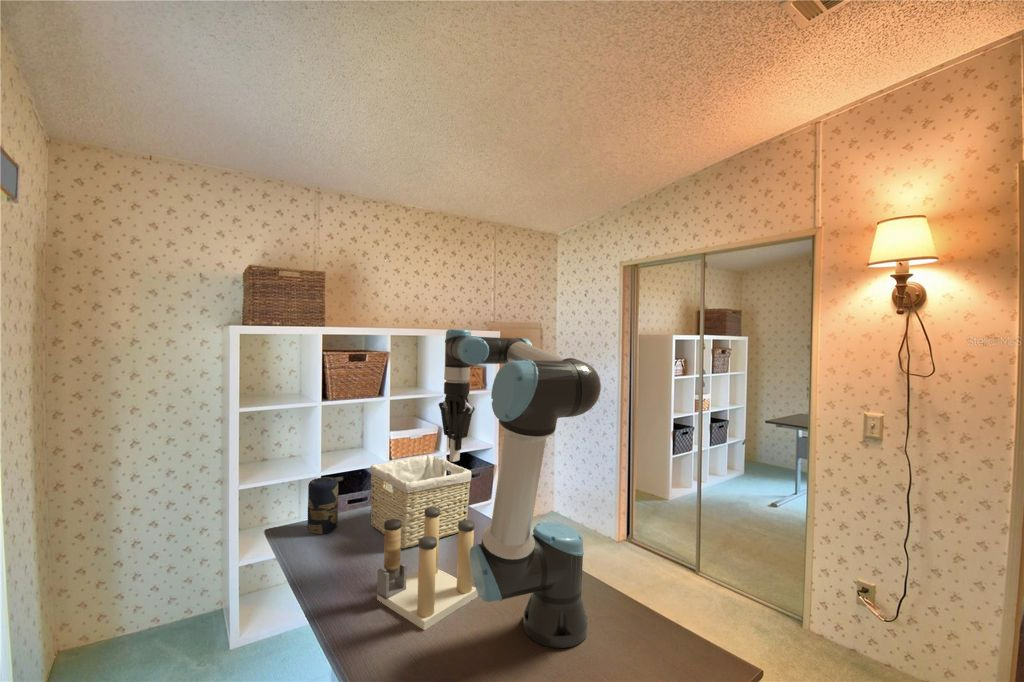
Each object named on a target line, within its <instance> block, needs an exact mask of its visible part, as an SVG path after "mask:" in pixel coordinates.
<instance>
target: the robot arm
mask: <svg viewBox="0 0 1024 682" xmlns="http://www.w3.org/2000/svg"><path fill="white" fill-rule="evenodd" d="M444 343H445V345H444V349H445V350H444V351H445V352H444V376H443V377H444V378H443V379H444V380H445V382H444V383H443V393H444V395H445V397H444V400H443V401H442V402H439V403H438V407H439V409H440V413H441V415H440V416H441V423H442V427H443V428H442V429H443V435H444V436H447V438H448V448H449V449H448V450H449V462H451V463H454V462H458V461H460V458H461V457H460V456H461V450H462V440H463V439H465V438H467V437H468V434H469V430H470V425H471V420H472V415H473V414H474V411H476V410H475V406H471V404H469V398H468V396H469V395H470V387H471V385H470V382H469V381H470V379H471V378H470V375H471V366H473V365H474V366H477V365H488V364H491V365H497V364H499V365H500V364H501V365H503V366H501V367H500V368H499V369H498V371H497V373H496V375H495V377H494V380H493V383H492V387H491V395H490V396H491V399H492V400H491V401H492V402H491V409H492V412H493V414H494V416H495V417H496V418H497V420H498V424H499V426H500V427H501V428H502V429H503V430H504V435H503V443H502V449H501V455H500V463H499V469H498V475H497V476H498V477H497V482H496V487H495V488H496V489H495V495H494V503H493V509H492V516H491V522H490V523H491V524H490V525H489V526H487V527H486V528H485V529H484V530H483V533H482V537H481V543H476V544H473V546H472V547H471V549H470V567H471V573H472V582H473V584H474V587H475V588H476V590H477V592H478V596H479V597H480V599H481V600H483V602H485V603H493V602H498V601H499V602H502V601H503V600H508V599H513V598H516V597H520V596H523V595H528V594H530V595H529V598H528V601H527V604H526V606H525V609H524V613H523V621H522V622H523V625H522V626H523V630H524V632H525V634H526V635H527V637H529V638H530V639H531V640H532V641H534V642H535V643H537V644H539V645H541V646H544V647H549V648H554V649H555V648H556V649H565V648H571V647H574V646H578V645H579V644H580V643H582V642H584V640H585V639H586V638H587V636H588V633H589V619H588V615H587V612H586V609H585V605H584V601H583V598H582V594H583V593H582V588H583V561H584V560H583V559H584V558H583V557H584V555H585V553H584V541H583V537H582V535H581V534H580V532H579V531H578V530H576V529H574V528H573V527H570V526H568V525H566V524H562V523H558V522H552V521H551V522H548V521H546V522H543V521H542V522H539V523H537V524H536V525H534V527H533V530H532V533H533V534H532V533H531V528H532V523H533V517H534V511H535V505H536V500H537V493H538V488H539V483H540V476H541V472H542V471H541V469H542V466H543V465H542V464H543V458H544V454H545V453H544V452H545V447H546V442H547V438H549V437H550V436H552V435H554V434H555V431H556V429H557V428H556V427H557V423H558V419H560V418H571V417H578V416H580V415H583V414H585V413H587V412H589V411H590V410H591V409H592V408H594V406H595V405H596V403H597V402H598V400H599V398H600V395H601V389H602V387H601V380H600V376H599V374H598V372H597V370H596V369H595V368H594V367H593V366H591V364H589V363H587V362H584V361H582V360H580V359H577V358H574V357H567V358H563V357H560V356H558V355H556V354H553V353H551V352H548V351H545V350H543V349H541V348H539V347H537V346H533V343H532V342H531V340H530V339H528V338H526V337H525V338H523V337H517V336H516V337H498V336H497V337H495V336H491V337H490V336H488V337H487V336H472V331H471V330H469V329H456V328H453V329H452V328H450V329H447V330H446V331H445V340H444Z"/></svg>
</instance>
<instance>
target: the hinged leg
mask: <svg viewBox="0 0 1024 682" xmlns="http://www.w3.org/2000/svg"><path fill="white" fill-rule="evenodd" d="M384 529H385V534H384V536H383V537H384V538H383V539H384V540H383V542H384V543H383V544H384V545H383V547H384V548H383V549H384V551H383V555H384V556H383V557H384V559H383V568H384V570H385V571H386V572H387V573H389V582H391V581H395V579H396V578H398V577H400V576H401V575H402V570H401V568H400V562H401V552H402V551H401V550H402V548H401V520H399V519H390V520H387V521H385V522H384Z"/></svg>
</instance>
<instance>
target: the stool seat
mask: <svg viewBox="0 0 1024 682" xmlns="http://www.w3.org/2000/svg"><path fill="white" fill-rule="evenodd" d="M439 518H440V509H439V508H436V507H430V508H426V509H425V529H424V537H422V538H420V539H419V544H418V566H417V567H418V569H417V572H416V573H414V574H411V575H409V576H407V567H408V566H407V564H404V563H403V562H401V561H400V568H401V570H402V575H401V576H400V577H398V578H396V579H394V583H391V584H390V581H389V573H387V572H386V571H387V570H385V569H382V568H379V569H377V581H376V582H377V583H376V585H377V586H376V589H377V590H376V600H377V601H378V600H379V601H380V602H379V601H378V602H379V603H381V602H382V603H381V604H383V606H386V607H388V609H390V610H392V611H393V612H395V613H396V614H398V615H400V616H401V617H403V618H404V619H406V620H408V621H409V622H411V623H412V624H414V625H415V626H417V627H419V628H420V629H421V630H423V631H426V630H428V629H429V628H431V627H432V626H434V625H436V624H437V623H439V622H440V621H442V620H443V619H444V618H446V617H448V616H449V615H451V614H452V613H454V612H456V611H458V610H459V609H461V608H462V607H464V606H465V605H467V604H468V603H470V602H472V601H473V600H474V599H477V598H478V596H479V594H478V592H477V590H476V587H475V586H473V577H472V573H471V567H470V549H471V547H472V546H474V540H475V537H474V536H475V535H474V534H475V522H474V521H473V520H468V519H467V520H463V521H460V522H459V523H458V533H457V559H456V560H457V561H456V562H457V565H456V567H457V569H456V577H455V576H453V575H451V574H449V573H447V572H445V571H443V570H441V569H439V551H440V550H439V547H440V544H439V542H440V538H439ZM471 600H472V601H471Z"/></svg>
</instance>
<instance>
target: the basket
mask: <svg viewBox="0 0 1024 682" xmlns="http://www.w3.org/2000/svg"><path fill="white" fill-rule="evenodd" d="M446 471H448V472H450V474H449V475H446V474H445V473H446ZM369 473H370V483H371V492H370V493H371V494H370V495H371V496H370V497H371V500H370V501H371V504H370V511H371V516H370V517H371V521H370V526H371V527H373V528H375V530H378V532H381V534H383V535H385V529H384V522H385V521H387V520H390V519H399V520H401V549H406V548H411V547H415V546H416V545H419V539H420V538H422V537H424V529H425V509H426V508H430V507H436V508H439V509H440V518H439V539H441V538H443V537H444V538H445V537H448V536H450V535H455V534H458V523H459V522H460V521H463V520H468V515H469V514H468V513H469V510H468V508H469V500H470V488H471V482H472V471H471V470H470V469H467V468H466V467H465V468H464V467H463V466H461V465H460V466H459V465H457V464H455V463H454V462H451V461H448V460H447V459H444V458H441V457H438V456H435V455H430V454H426V455H425V454H424V455H422V456H421V457H420V456H416V457H409V458H405V459H401V460H394V461H391V462H385V463H379V464H372V465H370V467H369Z"/></svg>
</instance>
